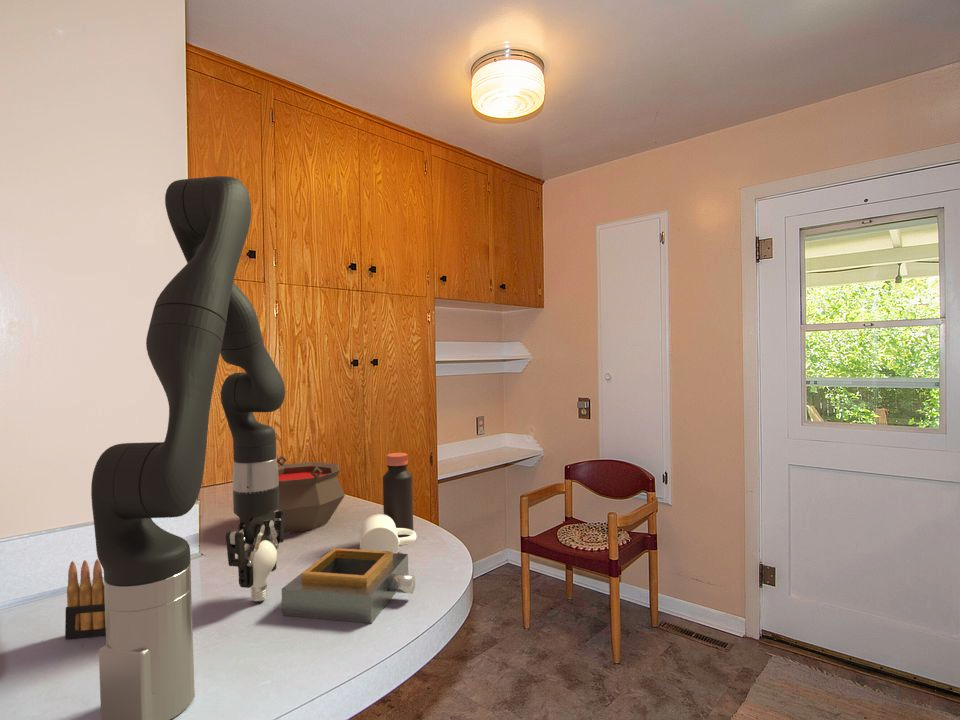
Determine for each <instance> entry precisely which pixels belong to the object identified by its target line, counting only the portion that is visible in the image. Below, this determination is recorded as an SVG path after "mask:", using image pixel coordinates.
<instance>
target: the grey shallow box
mask: <svg viewBox="0 0 960 720" xmlns="http://www.w3.org/2000/svg"><path fill="white" fill-rule="evenodd" d="M415 588H416V576H415V575H413V574H409V554H408V553H398V552H397V553H393V552H390V551H374V550H360V549H355V548H337V547H333V548H332V549H331V550H330V551H328V552H327V553H326V554H324V555H323V556H322V557H321V558H319V559H317V561H315V562H314V563H313V564H312V565H310V566H308V568H307V569H305V570H304V571H302V572H301V573H300V574H299V575H297V576H296V577H295V578H293V579H292V580H291V581H290V582H288V583H287V584H286V585H284V587H282V588H281V615H282V616H284V617H295V618H296V617H297V618H305V619H318V620H327V621H328V620H329V621H337V622H338V621H339V622H340V621H341V622H351V623H362V624H370V625H371V624H372V623H374V621H375V620H376V618H377V617H379V615H380V614H381V612H382V611H383V610H384V609H385V607H386V606H387V605H388V603H389V602H390V601H391V600H392V599H393V597H394V596H395V595H396V594H399V593H400V594H409V595H410V594H411V595H412V594H413V593H414V591H415Z"/></svg>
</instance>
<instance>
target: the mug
mask: <svg viewBox="0 0 960 720" xmlns="http://www.w3.org/2000/svg"><path fill="white" fill-rule="evenodd" d="M398 535H410V536H408V537H402V538H398ZM416 539H417V533H416V531H414V529H413V530H410V529H405V528H396V526H395V523H394V521H393V520H392V518H391V517H389V516H388V515H386V514H384V513H382V512H379V513H373V514H370V515H369V516H367V517H366V518H365V519H364V520H363V522H362V523H361V525H360V528H359V550H374V551H390V552H393V553H398V552H399V549H400V546H403V545H408V544H412V543H413V542H415V541H416Z"/></svg>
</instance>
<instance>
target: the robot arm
mask: <svg viewBox="0 0 960 720" xmlns="http://www.w3.org/2000/svg"><path fill="white" fill-rule="evenodd" d="M164 196H165V197H164V204H165V209H166V215H167V218H168V221H169V224H170V226H171V229H172V231H173V234H174V235H175V238H176V240H177V242H178V245H179V247H180V250H181V252H182V255H183V256H184V259H185V261H186V264H185V265H184V267H182V268H181V269H180V270H179V271H178V272H177V273H176V274H175V276H174V277H172V279H171V280H170V281H169V282H168V283H167V284H166V285H165V287H164V288H163V290H162V291H161V292H160V294H159V295H158V297H157V298H156V301H155V303H154V306H153V311H152V313H151V318H150V323H149V325H148V330H147V334H146V341H145V342H146V343H145V344H146V351H147V356H148V359H149V361H150V363H151V365H152V368H153V369H154V372H155V374H156V376H157V378H158V380H159V382H160V384H161V385H162V387H163V391H164V393H165V396H166V398H167V403H168V408H169V409H168V421H167V431H166V434H165V435H166V436H165V438H164V441H159V442H156V441H153V442H126V443H125V442H124V443H123V442H122V443H117V444H114V445H111V446H110V447H107V449H105V450H104V452H102V453H101V455H100V456H99V458H98V459H97V461H96V463H95V466H94V469H93V472H92V479H91V483H90V484H91V486H90V487H91V489H90V491H91V492H90V493H91V494H90V496H91V507H92V509H91V510H92V517H93V525H94V526H93V527H94V528H93V529H94V535H95V536H94V538H95V548H96V555H97V559H98V560H99V562H100V565H101V568H102V571H103V583H104V591H105V623H106V636H105V644H104V646H102V647H100V648H99V649H98V661H99V662H98V667H99V668H98V669H99V696H100V720H172V719H174V718H176V717H177V716H178V715H180V714H181V713H183V712H184V711H185V710H186V709H187V708H188V707H189V706H190V704H191V703H193V700H194V698H195V665H194V664H195V663H194V661H195V660H194V639H193V638H194V634H193V607H192V601H193V600H192V568H191V565H192V564H191V548H190V544H189V542H188V541H187V540H186V539H185V538H184V537H181V536H179V535H177V534H173V533H171V532H168V531H167V530H164V529H163V528H162V527H160V526H159V525H158V524H157V523H155V522H154V521H153V520H152V519H164V518H170V519H171V518H179V517H182V516H184V515H186V514H187V513H189V512H190V511H191V510H192V509H193V507H194V506H195V504H196V502H197V500H198V497H199V495H200V492H201V487H202V485H203V480H204V479H203V478H204V472H205V465H206V455H207V442H208V433H209V421H210V420H209V419H210V410H211V404H212V399H213V398H212V396H213V391H214V390H213V389H214V385H215V379H216V373H217V368H218V364H219V359H220V356H221V358H222V360H223V361H224V362H225V364H229V365H233V366H235V367H238V368H241V369H243V370H244V371H245V372H234V373H231V374H229V375H227V377H226V378H225V379H224V381H223V383H222V386H221V389H220V401H221V405H222V409H223V412H224V415H225V417H226V420H227V424H228V428H229V431H230V433H231V436H232V445H233V447H232V448H233V449H232V450H233V451H232V453H233V454H232V455H233V466H232V467H233V469H232V503H233V504H232V505H233V513H234V515H235V516H237V517H238V519H239V522H238V526H237V529H235V530H234V531H227V532H226V533H225V542H226V543H225V545H226V552H227V553H226V554H227V563H228V566H229V567H237V568H238V584H239V587H240V588H245V589H246V588H247V589H249V588H250V589H251V586H253V565H252V563H253V559H254V555H255V553H256V552H257V551H258V549H259V545H260V543H261V542H262V541H263V540H268V541H270V542H271V543H272V544H273V545H274V546H275V548H276V550H278V549H279V544H282V543H284V540H285V532H284V520H285V511H284V510H277V509H278V508H279V478H278V463H277V460H278V459H277V437H276V436H277V435H276V431H275V429H274V427H272V426H270V425H268V424H263V423H260V422H258V421H257V419H256V418H255V414H254V413H271V412H275V411H277V410H279V409H280V408H281V407H282V405H283V403H284V400H285V398H286V387H285V382H284V379H283V377H282V375H281V373H280V371H279V370H278V367H277V365H276V364H275V362H274V361H273V359H272V357H271V356H270V354H269V352H268V349H266V347H265V343H264V340H263V335H262V330H261V326H260V322H259V318H258V316H257V312H256V310H255V308H254V306H253V304H252V302H251V301H250V299H249V298H248V296H246V294H245V293H244V292H243V291H242V289H241V288H239V286H237V284H236V283H235V282H234V281H235V276H236V273H237V269H238V266H239V262H240V259H241V257H242V253H243V250H244V246H245V243H246V240H247V238H248V233H249V231H250V227H251V226H250V225H251V220H252V202H251V198H250V193H249V191H248V189H247V187H246V186H245V184H244V183H243V182H242V181H241V180H240V179H238V178H236V177H233V176H228V175H227V176H221V175H217V176H216V175H215V176H205V177H195V178H187V179H186V178H184V179H178V180H177V179H176V180H174V181H173V182H171V183H170V184H168V187H167V188H166V191H165V194H164ZM275 529H276V530H278V531H276V530H275ZM245 543H246V544H252V546H251V547H247V546H245V545H246V544H245ZM245 552H248V556H247V559H246V558H245ZM236 555H237V556H236ZM276 569H277V561H276V563H275V565H274V567H273V569H272V571H271V572H274V571H276Z"/></svg>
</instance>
